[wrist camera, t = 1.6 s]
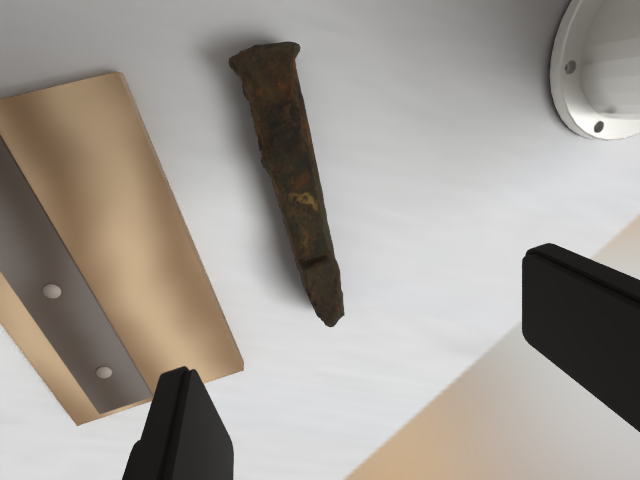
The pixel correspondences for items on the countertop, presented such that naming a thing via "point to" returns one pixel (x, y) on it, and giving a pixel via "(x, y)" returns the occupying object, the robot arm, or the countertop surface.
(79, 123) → the plywood panel
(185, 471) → the robot arm
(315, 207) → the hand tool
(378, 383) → the countertop surface
